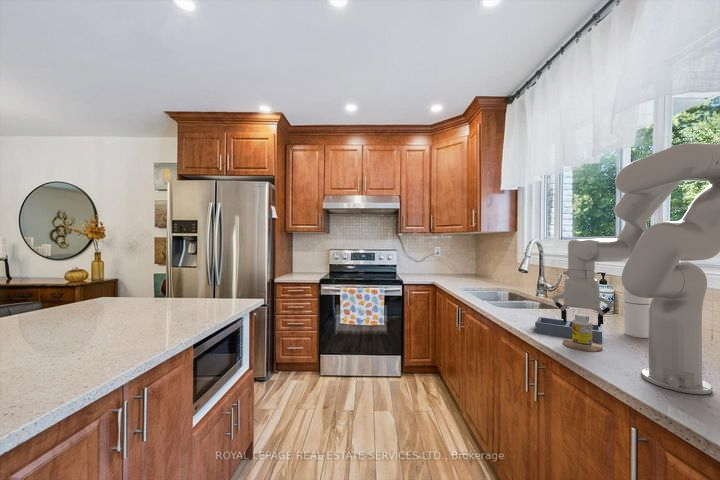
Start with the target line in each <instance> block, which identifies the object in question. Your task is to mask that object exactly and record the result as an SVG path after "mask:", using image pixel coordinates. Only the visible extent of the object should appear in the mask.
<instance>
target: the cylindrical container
mask: <svg viewBox="0 0 720 480" xmlns="http://www.w3.org/2000/svg"><path fill="white" fill-rule="evenodd" d="M623 288H624V287H623ZM623 297H624V298H623V300H624V301H623V305H624V308H623V313H624V314H623V315H624V317H623V318H624V323H623V324H624V334H625V335H626V336H629V337H634V338H641V339H642V338H643V339H644V338H645V339H649V333H648V312H649V306H650V298H642V297H637V296H634V295H632V294H630V293H629V292H628V291H627V290H626V289H625V288H624V289H623Z"/></svg>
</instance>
